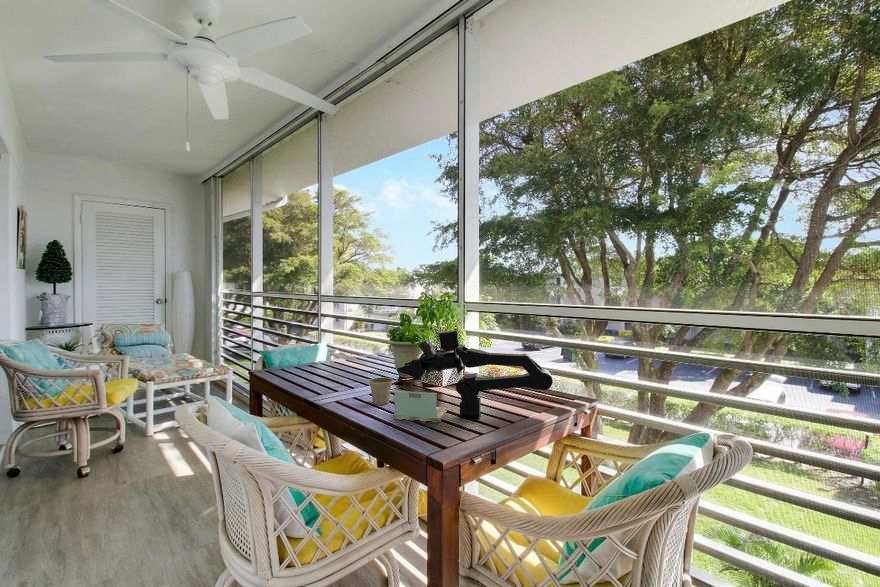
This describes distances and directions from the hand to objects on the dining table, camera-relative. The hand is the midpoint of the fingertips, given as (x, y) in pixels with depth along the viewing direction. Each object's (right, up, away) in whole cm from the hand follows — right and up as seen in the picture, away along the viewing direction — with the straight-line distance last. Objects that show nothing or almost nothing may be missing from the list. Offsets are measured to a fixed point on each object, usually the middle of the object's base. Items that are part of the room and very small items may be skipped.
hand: (401, 367), depth 150 cm
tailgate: (+6, -14, -11) cm, 19 cm away
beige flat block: (+7, -16, -4) cm, 18 cm away
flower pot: (-9, -16, +11) cm, 21 cm away
